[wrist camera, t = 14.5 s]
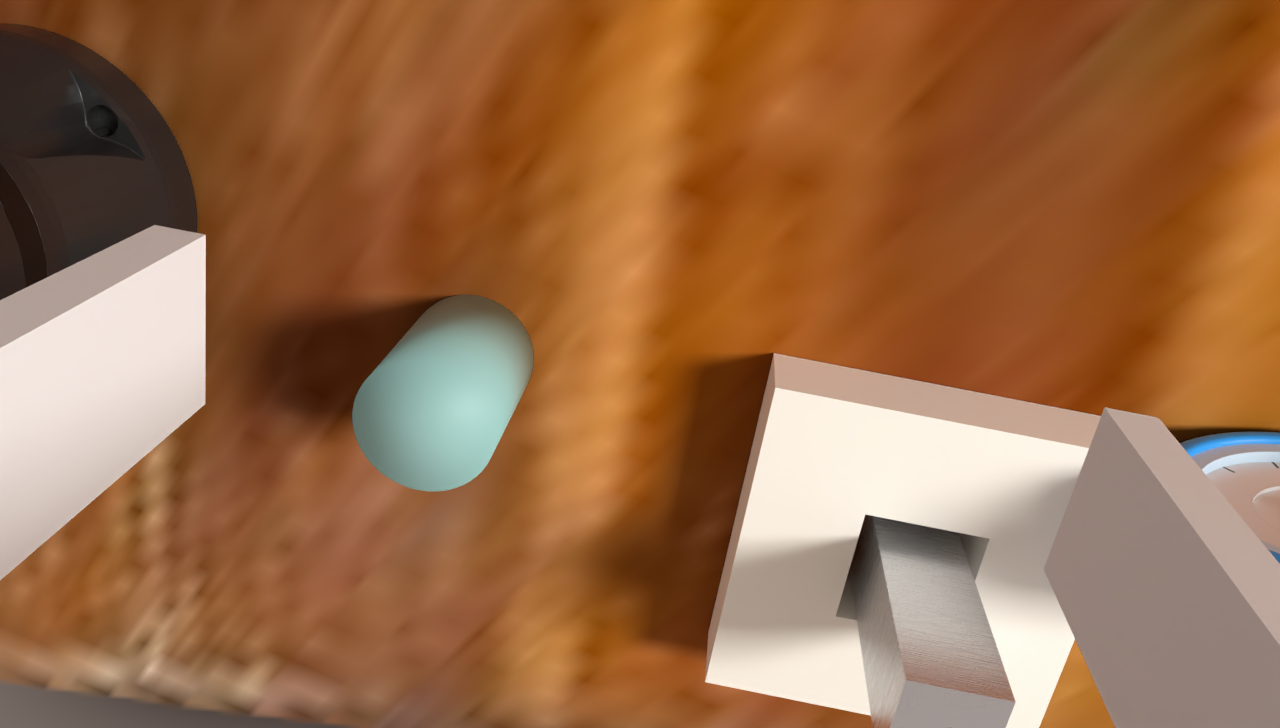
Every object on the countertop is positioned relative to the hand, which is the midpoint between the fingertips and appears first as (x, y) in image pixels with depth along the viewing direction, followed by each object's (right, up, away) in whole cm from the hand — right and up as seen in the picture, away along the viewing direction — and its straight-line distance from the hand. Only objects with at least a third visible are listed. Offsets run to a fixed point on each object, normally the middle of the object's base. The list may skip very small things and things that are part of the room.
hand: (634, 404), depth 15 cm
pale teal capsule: (-8, +1, +35) cm, 36 cm away
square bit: (+13, -8, +36) cm, 39 cm away
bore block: (+13, -8, +36) cm, 39 cm away
